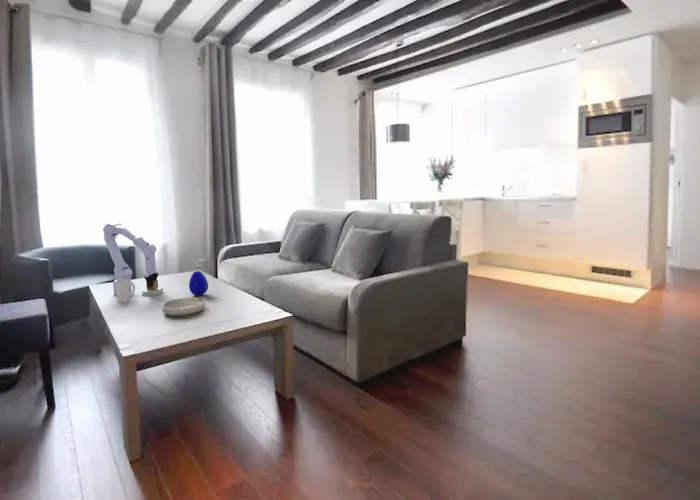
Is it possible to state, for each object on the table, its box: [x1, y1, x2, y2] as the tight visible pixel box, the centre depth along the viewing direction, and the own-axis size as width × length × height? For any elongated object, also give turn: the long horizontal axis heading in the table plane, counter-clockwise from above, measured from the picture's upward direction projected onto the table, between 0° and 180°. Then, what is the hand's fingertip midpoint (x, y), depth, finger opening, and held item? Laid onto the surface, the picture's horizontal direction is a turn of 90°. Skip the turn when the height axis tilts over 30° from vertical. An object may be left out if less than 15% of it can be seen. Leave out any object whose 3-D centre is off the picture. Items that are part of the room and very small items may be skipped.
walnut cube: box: [145, 279, 159, 290], centre depth 263 cm, size 5×5×5 cm
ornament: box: [188, 270, 209, 296], centre depth 258 cm, size 11×9×15 cm
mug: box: [114, 279, 136, 303], centre depth 248 cm, size 10×7×12 cm, turn 119°
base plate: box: [141, 287, 164, 297], centre depth 263 cm, size 9×9×3 cm
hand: (152, 286), depth 263 cm, fingers closed on walnut cube, 5 cm apart
